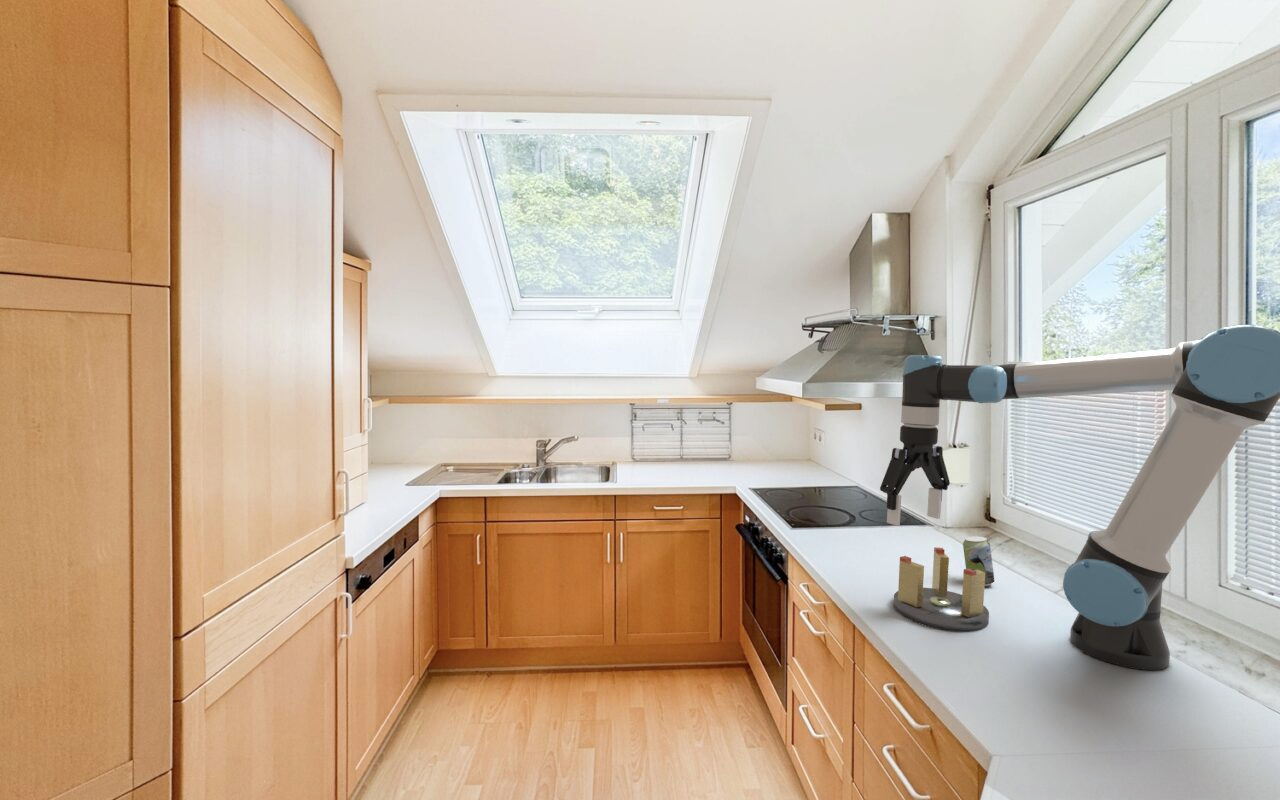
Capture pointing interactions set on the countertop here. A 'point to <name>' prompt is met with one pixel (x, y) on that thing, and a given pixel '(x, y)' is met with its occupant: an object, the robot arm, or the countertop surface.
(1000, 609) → the countertop surface
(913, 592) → the knob
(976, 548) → the beverage can
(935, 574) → the knob
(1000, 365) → the robot arm
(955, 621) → the tribrach plate
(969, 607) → the knob
